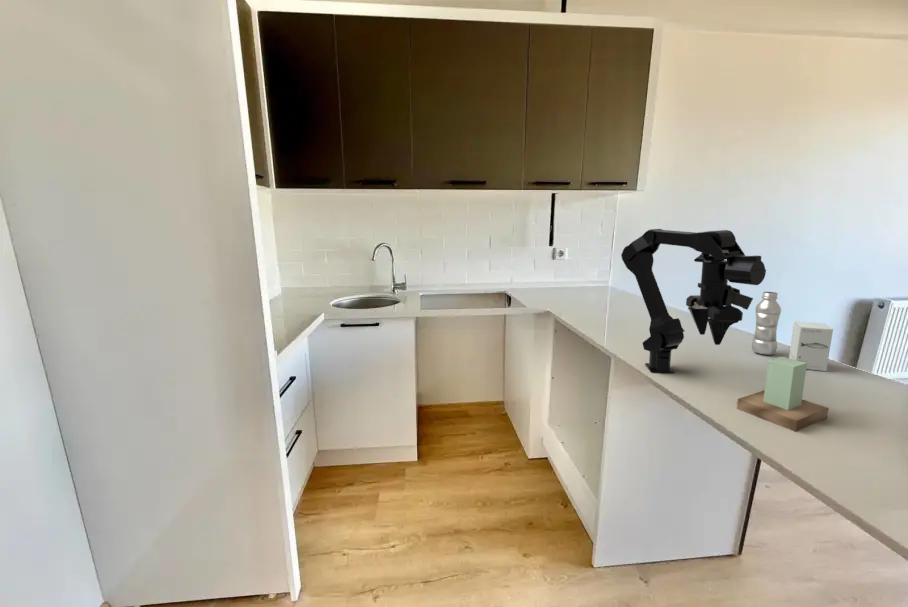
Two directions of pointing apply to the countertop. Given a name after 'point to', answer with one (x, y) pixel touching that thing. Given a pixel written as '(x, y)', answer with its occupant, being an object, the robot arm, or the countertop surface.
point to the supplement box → (811, 344)
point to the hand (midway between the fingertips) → (709, 339)
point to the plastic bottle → (766, 324)
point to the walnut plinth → (783, 412)
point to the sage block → (784, 382)
